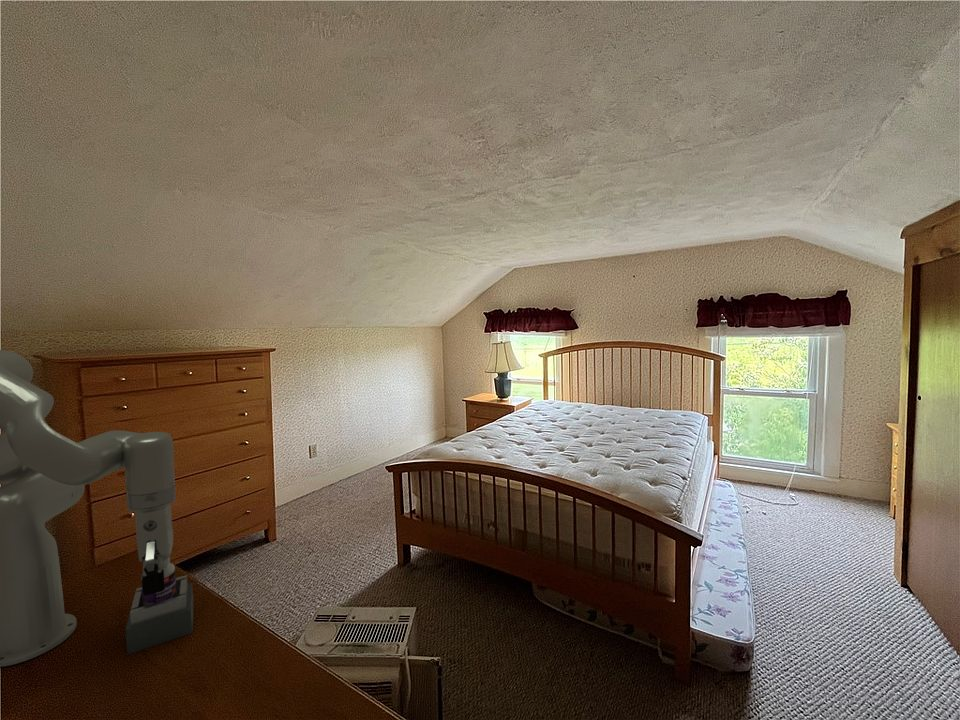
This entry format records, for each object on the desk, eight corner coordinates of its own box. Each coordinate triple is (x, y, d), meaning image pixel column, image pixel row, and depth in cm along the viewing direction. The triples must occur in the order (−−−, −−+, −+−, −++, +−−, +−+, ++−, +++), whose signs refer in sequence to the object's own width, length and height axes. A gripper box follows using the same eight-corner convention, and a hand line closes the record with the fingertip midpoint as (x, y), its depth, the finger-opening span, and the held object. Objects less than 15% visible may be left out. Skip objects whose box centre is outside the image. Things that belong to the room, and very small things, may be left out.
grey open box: (127, 654, 79) (124, 617, 78) (135, 622, 87) (132, 587, 86) (192, 633, 84) (189, 597, 83) (193, 604, 92) (191, 572, 92)
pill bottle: (159, 615, 82) (155, 568, 81) (136, 611, 83) (132, 564, 82) (184, 597, 87) (180, 552, 86) (162, 593, 88) (158, 549, 87)
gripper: (172, 509, 77) (177, 597, 79) (177, 478, 92) (181, 552, 94) (119, 519, 73) (125, 611, 75) (133, 484, 88) (138, 562, 90)
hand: (156, 578), depth 84 cm, fingers open, 9 cm apart
